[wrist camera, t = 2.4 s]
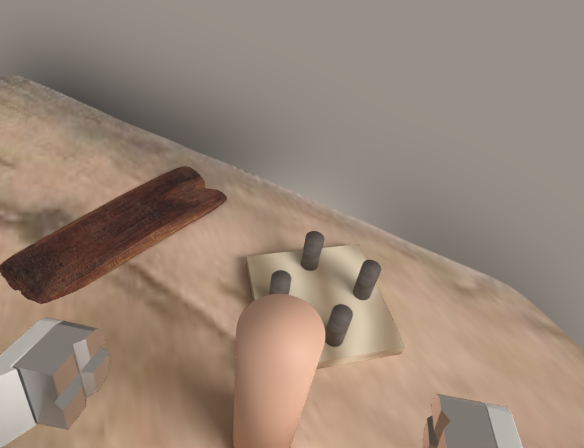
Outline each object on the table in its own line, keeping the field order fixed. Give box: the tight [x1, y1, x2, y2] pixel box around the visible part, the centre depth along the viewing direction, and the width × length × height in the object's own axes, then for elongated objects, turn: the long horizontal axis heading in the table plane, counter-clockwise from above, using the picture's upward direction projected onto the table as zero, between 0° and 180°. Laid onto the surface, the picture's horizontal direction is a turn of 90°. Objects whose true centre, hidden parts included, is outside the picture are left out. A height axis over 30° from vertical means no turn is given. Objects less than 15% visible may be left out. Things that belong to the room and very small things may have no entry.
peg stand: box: [246, 231, 405, 369], centre depth 44 cm, size 14×14×6 cm
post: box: [233, 294, 325, 448], centre depth 30 cm, size 5×5×18 cm
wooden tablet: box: [0, 166, 227, 304], centre depth 51 cm, size 26×2×10 cm
